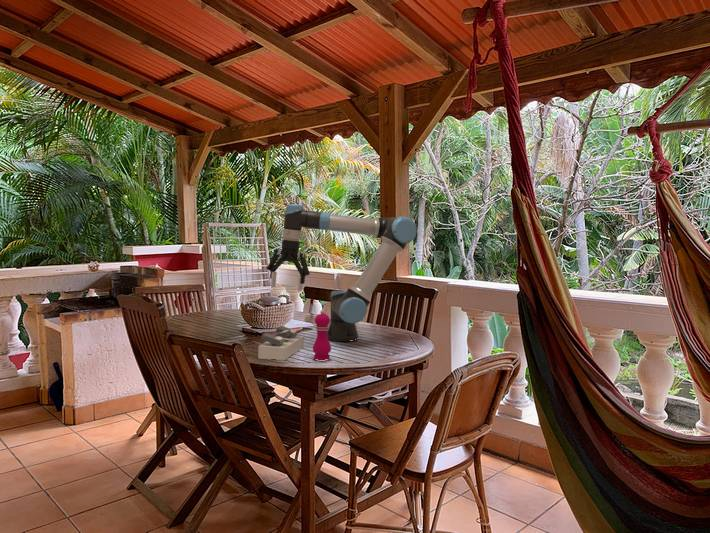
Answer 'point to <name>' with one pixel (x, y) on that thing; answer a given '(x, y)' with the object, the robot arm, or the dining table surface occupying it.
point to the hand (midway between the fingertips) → (286, 289)
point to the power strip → (281, 348)
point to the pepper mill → (322, 337)
